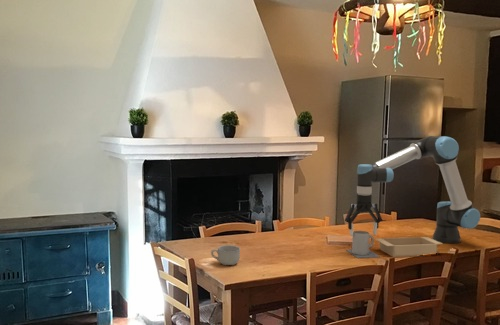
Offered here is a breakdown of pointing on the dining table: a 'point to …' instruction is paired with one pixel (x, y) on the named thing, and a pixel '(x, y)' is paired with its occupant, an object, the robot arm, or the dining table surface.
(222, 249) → the teacup
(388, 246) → the beige tray
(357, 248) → the mug
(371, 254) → the coaster mat
